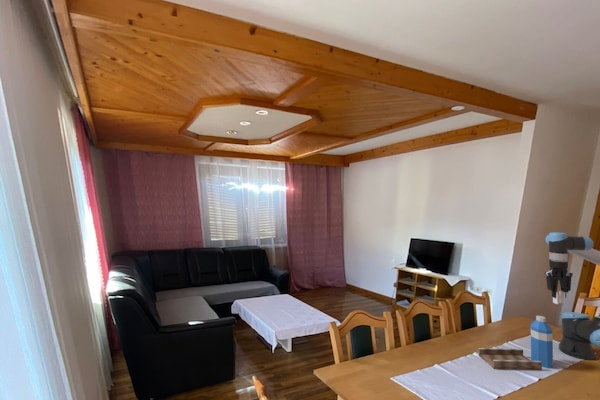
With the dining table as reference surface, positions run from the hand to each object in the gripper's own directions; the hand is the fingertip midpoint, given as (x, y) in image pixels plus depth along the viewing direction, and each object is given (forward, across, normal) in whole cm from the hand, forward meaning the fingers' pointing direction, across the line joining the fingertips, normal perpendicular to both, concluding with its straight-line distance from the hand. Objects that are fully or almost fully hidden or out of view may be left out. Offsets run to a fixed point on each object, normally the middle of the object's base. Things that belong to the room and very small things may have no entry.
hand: (559, 303), depth 152 cm
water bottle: (+33, +10, 0) cm, 34 cm away
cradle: (+33, +28, 0) cm, 43 cm away
